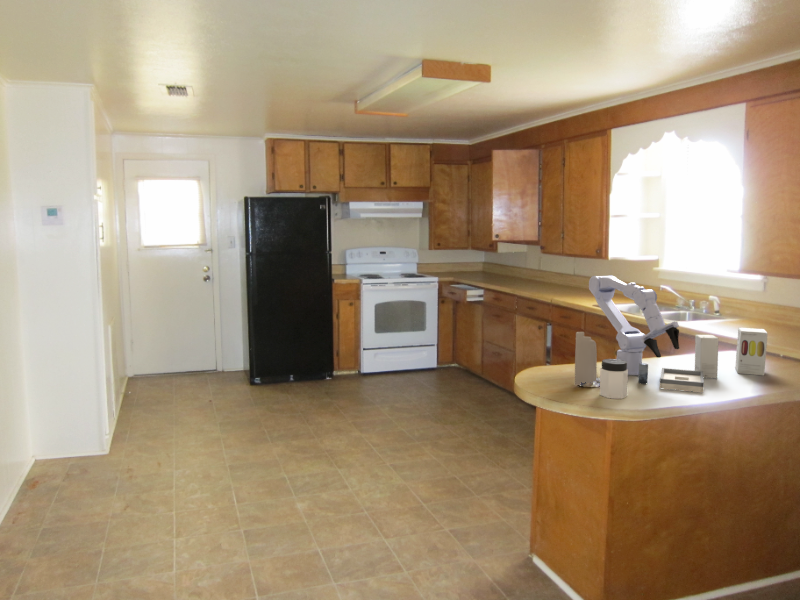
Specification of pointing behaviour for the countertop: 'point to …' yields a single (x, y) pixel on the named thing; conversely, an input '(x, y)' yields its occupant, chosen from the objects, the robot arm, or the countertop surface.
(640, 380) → the peg
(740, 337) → the supplement box
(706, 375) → the skincare box
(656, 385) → the countertop surface
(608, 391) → the jar
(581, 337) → the beige stepped upright panel
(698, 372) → the tray
